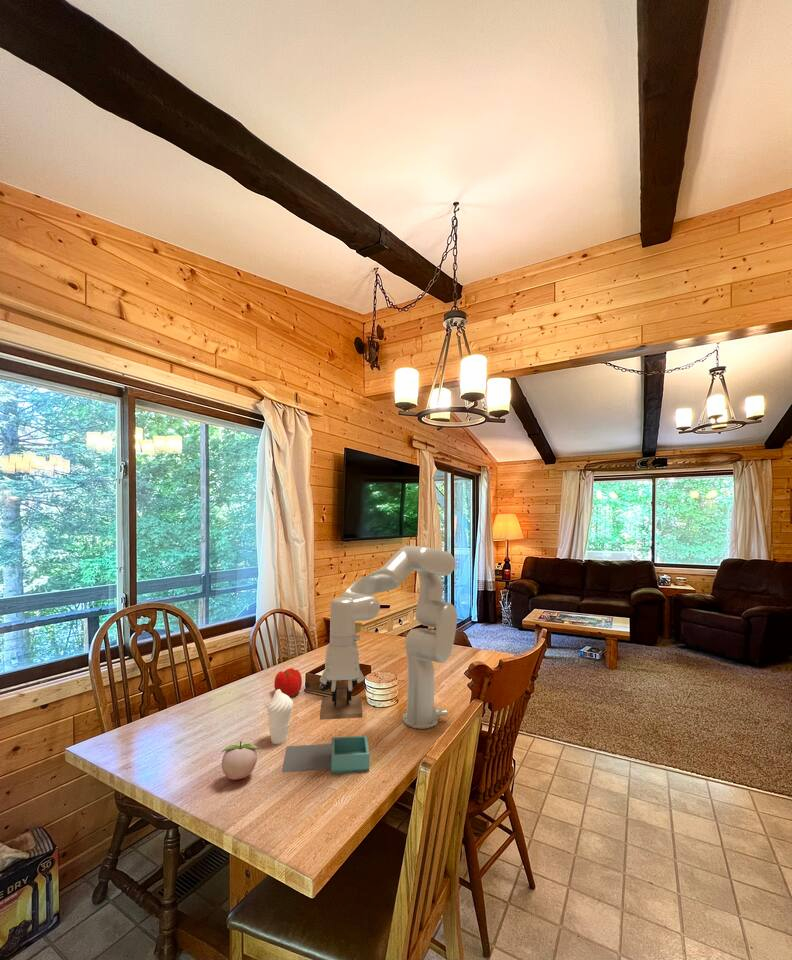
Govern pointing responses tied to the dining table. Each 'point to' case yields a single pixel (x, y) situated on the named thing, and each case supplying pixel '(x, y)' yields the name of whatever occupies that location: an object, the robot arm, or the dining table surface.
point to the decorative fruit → (239, 760)
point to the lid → (341, 706)
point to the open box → (349, 754)
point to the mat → (307, 758)
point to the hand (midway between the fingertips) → (341, 702)
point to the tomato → (288, 681)
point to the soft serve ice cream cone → (279, 716)
